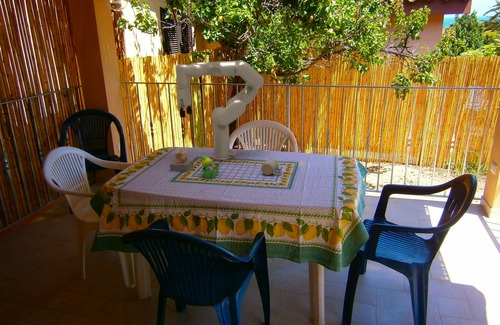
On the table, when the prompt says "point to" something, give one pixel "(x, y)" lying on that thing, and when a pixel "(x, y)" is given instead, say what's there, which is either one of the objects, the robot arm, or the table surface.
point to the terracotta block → (181, 156)
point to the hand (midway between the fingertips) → (186, 115)
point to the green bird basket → (209, 167)
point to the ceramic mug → (271, 167)
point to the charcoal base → (181, 166)
